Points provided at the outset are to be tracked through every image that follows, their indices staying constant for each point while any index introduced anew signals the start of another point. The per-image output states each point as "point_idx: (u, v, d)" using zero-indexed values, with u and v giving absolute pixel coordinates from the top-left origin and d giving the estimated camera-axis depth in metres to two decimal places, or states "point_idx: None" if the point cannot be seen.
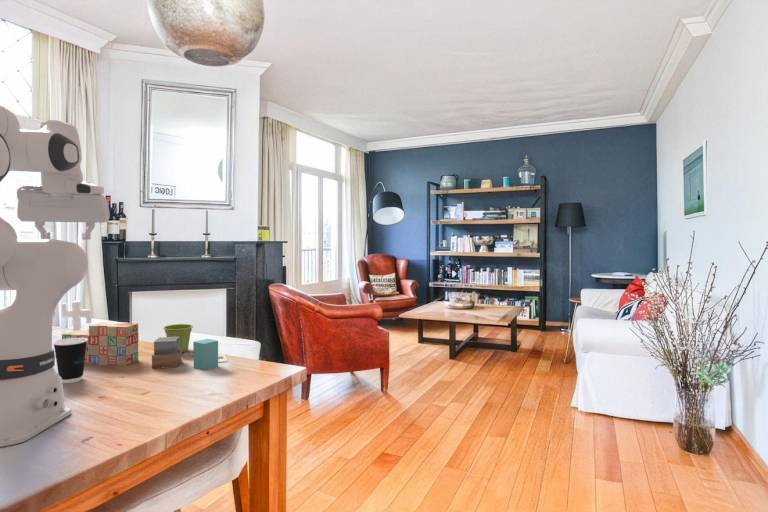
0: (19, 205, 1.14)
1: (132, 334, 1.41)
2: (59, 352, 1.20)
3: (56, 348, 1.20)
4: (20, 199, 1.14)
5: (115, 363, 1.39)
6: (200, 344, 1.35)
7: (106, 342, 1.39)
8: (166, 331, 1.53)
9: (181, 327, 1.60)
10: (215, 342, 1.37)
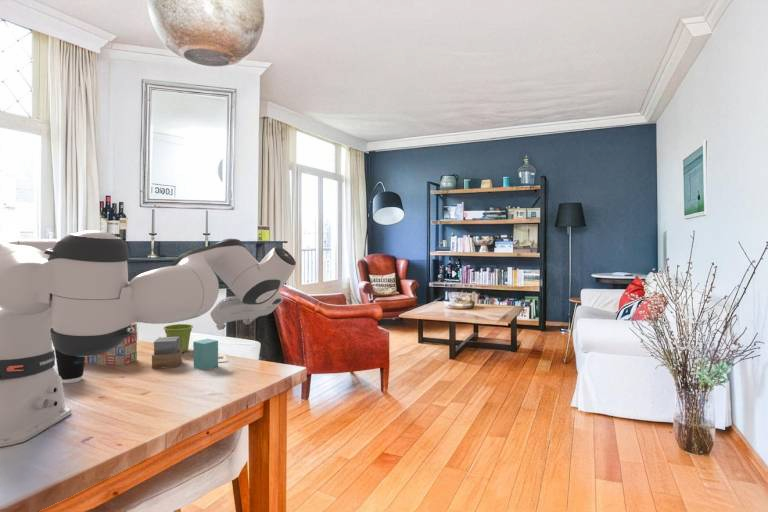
0: (223, 315, 1.19)
1: None
2: (59, 352, 1.20)
3: None
4: (227, 311, 1.18)
5: (114, 363, 1.39)
6: (200, 344, 1.35)
7: None
8: (166, 331, 1.53)
9: (181, 327, 1.60)
10: (215, 342, 1.37)
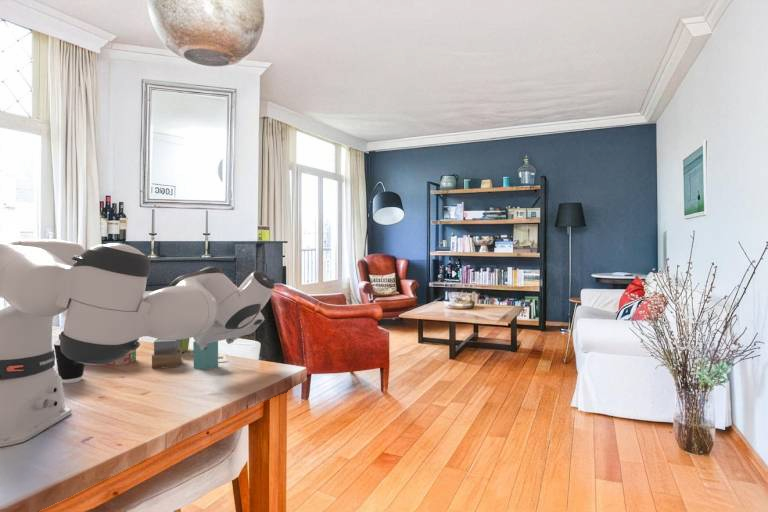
0: (205, 336, 1.24)
1: None
2: (59, 352, 1.20)
3: (56, 348, 1.20)
4: (208, 333, 1.24)
5: (113, 363, 1.39)
6: None
7: None
8: None
9: None
10: (215, 342, 1.37)
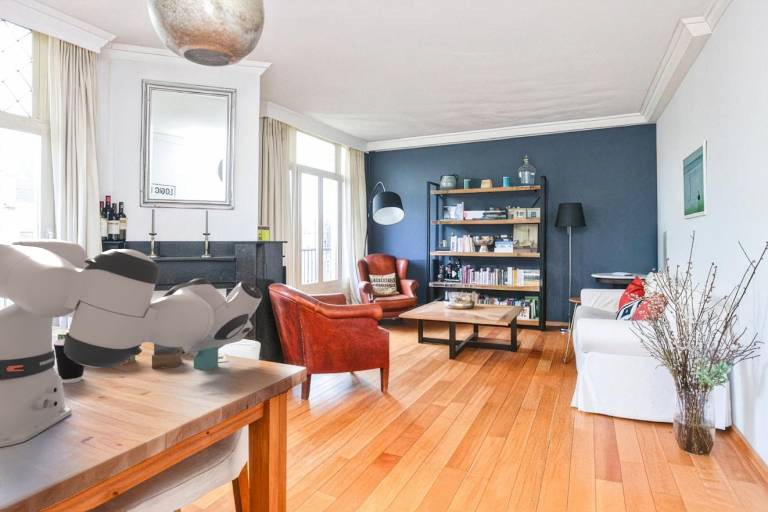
0: (193, 345, 1.26)
1: None
2: (59, 352, 1.20)
3: (56, 348, 1.20)
4: (196, 342, 1.25)
5: None
6: None
7: None
8: None
9: None
10: None
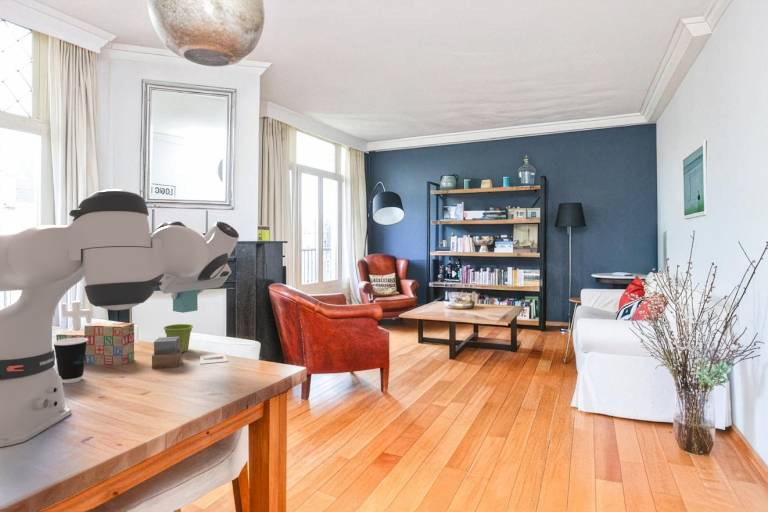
0: (169, 284, 1.27)
1: (129, 334, 1.42)
2: (59, 352, 1.20)
3: (56, 348, 1.20)
4: (173, 281, 1.26)
5: (111, 363, 1.39)
6: None
7: (102, 342, 1.39)
8: (166, 331, 1.53)
9: (181, 327, 1.60)
10: None
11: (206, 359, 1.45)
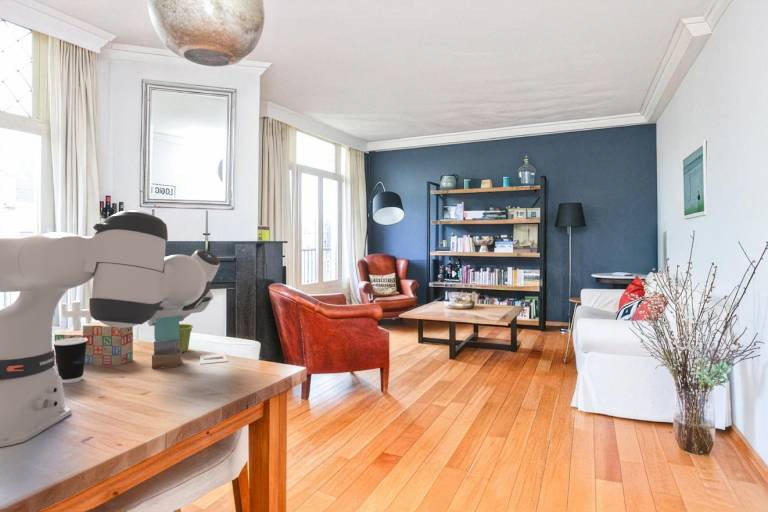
0: None
1: (127, 334, 1.42)
2: (59, 352, 1.20)
3: (56, 348, 1.20)
4: None
5: (110, 363, 1.39)
6: None
7: (100, 342, 1.39)
8: None
9: (181, 327, 1.60)
10: None
11: (206, 359, 1.45)
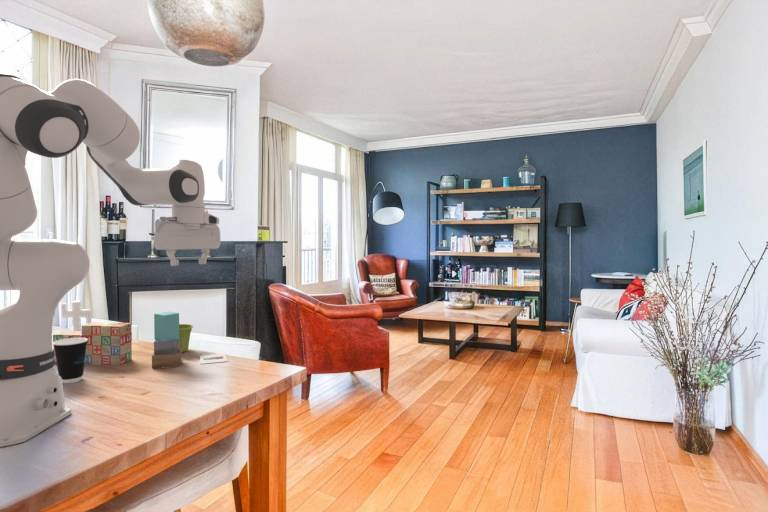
0: (163, 235, 1.23)
1: (126, 334, 1.42)
2: (59, 352, 1.20)
3: (56, 348, 1.20)
4: (164, 229, 1.23)
5: (109, 362, 1.39)
6: (160, 316, 1.36)
7: (99, 342, 1.39)
8: None
9: (181, 327, 1.60)
10: (176, 314, 1.39)
11: (206, 359, 1.45)
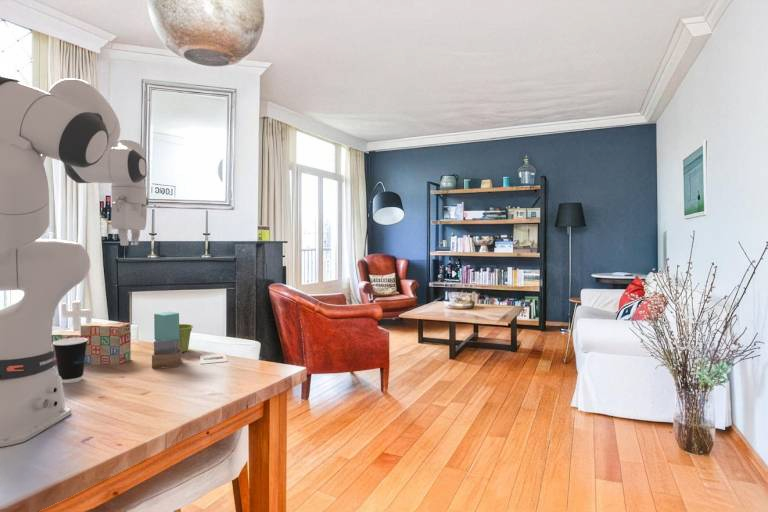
0: (125, 214, 1.23)
1: (125, 334, 1.42)
2: (59, 352, 1.20)
3: (56, 348, 1.20)
4: (125, 208, 1.24)
5: (108, 362, 1.39)
6: (160, 316, 1.36)
7: (98, 342, 1.39)
8: None
9: (181, 327, 1.60)
10: (176, 314, 1.39)
11: (206, 359, 1.45)
